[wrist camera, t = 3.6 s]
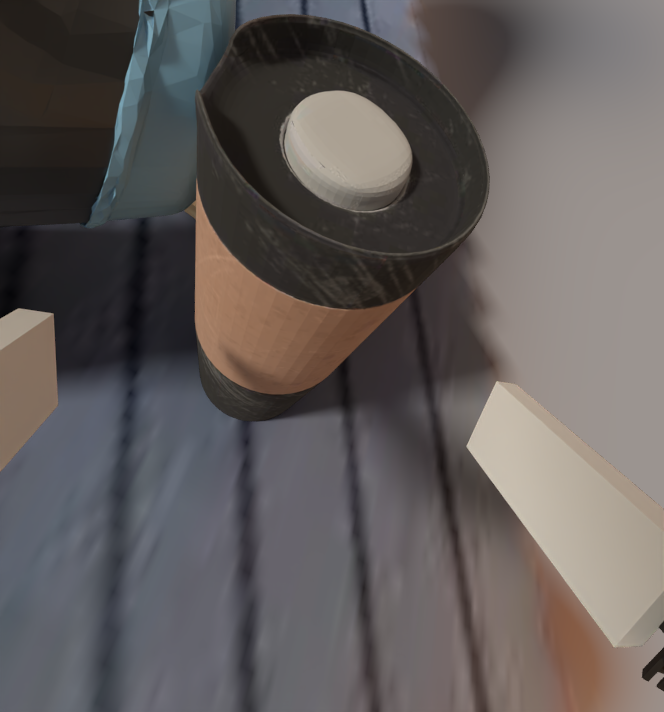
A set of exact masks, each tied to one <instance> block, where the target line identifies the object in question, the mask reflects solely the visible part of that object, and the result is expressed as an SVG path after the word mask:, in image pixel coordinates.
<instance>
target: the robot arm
mask: <svg viewBox="0 0 664 712" xmlns="http://www.w3.org/2000/svg"><path fill="white" fill-rule="evenodd" d="M235 7H236V0H0V227H10V226H30V225H50V224H70V223H80V225H81V226H82V227H84V228H95V227H97V226H100V225H102V224H104V223H106V221H111V220H122V219H133V218H144V217H154V216H165V215H172V214H176V213H179V212H182V211H183V210H185V209H187V208H188V207H189V206H190V205H191V204H192V203H194V202H195V201H196V179H197V175H196V172H197V120H196V105H195V92H196V90H197V89H198V90H199V91H200V90H201V89H202V87H203V86H204V85H205V83H206V81H207V80H208V78H209V76H210V75H211V73H212V72H213V70H214V69H215V67H216V66H217V64H218V63H219V61H220V59H221V58H222V56H223V54H224V52H225V50H226V48H227V46H228V43H229V41H230V39H231V37H232V35H233V33H234V31H235ZM57 406H58V392H57V372H56V352H55V331H54V314H53V313H46V312H40V311H33V310H27V309H20V308H18V309H16V310H15V311H13V312H11V313H9V314H8V315H6V316H4V317H2V318H1V319H0V472H1V471H2V469H3V468H4V467H5V466H6V465H7V464H8V462H9V461H10V460H11V459H12V458H13V457H14V456H15V454H16V453H17V452H18V451H19V450H20V449H21V448H22V446H23V445H24V444H25V443H26V442H27V441H28V439H29V438H30V437H31V436H32V435H33V434H34V433H35V431H36V430H37V429H38V428H39V427H40V426H41V424H42V423H43V422H44V421H45V420H46V419H47V418H48V416H49V415H50V414H51V413H52V412H53V411H54V409H55V408H56V407H57ZM466 447H467V448H468V450H469V451H470V452H471V454H472V455H473V456H474V458H475V459H476V461H477V462H478V463H479V465H480V466H481V467H482V469H483V470H484V471H485V473H486V474H487V475H488V477H489V478H490V480H491V481H492V482H493V484H494V485H495V486H496V488H497V489H498V490H499V492H500V493H501V494H502V496H503V497H504V499H505V500H506V501H507V503H508V504H509V505H510V507H511V508H512V509H513V511H514V512H515V513H516V515H517V516H518V518H519V519H520V520H521V522H522V523H523V524H524V526H525V527H526V528H527V530H528V531H529V532H530V534H531V535H532V537H533V538H534V539H535V541H536V542H537V543H538V545H539V546H540V547H541V549H542V550H543V551H544V553H545V554H546V556H547V557H548V558H549V560H550V561H551V562H552V564H553V565H554V566H555V568H556V569H557V570H558V572H559V573H560V575H561V576H562V577H563V579H564V580H565V581H566V583H567V584H568V585H569V587H570V588H571V589H572V591H573V592H574V594H575V595H576V596H577V598H578V599H579V600H580V602H581V603H582V604H583V605H584V607H585V608H586V610H587V611H588V612H589V614H590V615H591V617H592V618H593V619H594V621H595V622H596V623H597V625H598V626H599V627H600V629H601V630H602V631H603V633H604V634H605V636H606V637H607V638H608V640H609V641H610V642H611V644H612V645H613V646H614V648H618V647H638V646H643V645H644V644H645V643H646V641H647V640H648V639H649V638H650V637H651V636H652V635H653V634H654V633H655V632H656V631H657V629H658V628H660V629H661V630H662V632H663V633H664V509H663V508H662V507H661V506H659V505H658V504H657V503H656V502H655V501H654V500H652V499H651V498H650V497H649V496H648V495H646V494H645V493H644V492H643V491H642V490H640V489H639V488H638V487H637V486H636V485H635V484H633V483H632V482H631V481H630V480H629V479H628V478H626V477H625V476H624V475H623V474H621V473H620V472H619V471H618V470H617V469H616V468H615V467H613V466H612V465H611V464H610V463H608V462H607V461H606V460H605V459H604V458H603V457H602V456H600V455H599V454H598V453H596V451H594V450H593V449H592V448H591V447H590V446H589V445H587V444H586V443H585V442H584V441H583V440H581V439H580V438H579V437H578V436H577V435H575V434H574V433H573V432H572V431H570V430H569V429H568V428H567V427H566V426H565V425H564V424H562V423H561V422H560V421H559V420H558V419H557V418H555V417H554V416H553V415H552V414H551V413H549V412H548V411H547V410H546V409H545V408H543V407H542V406H541V405H540V404H539V403H538V402H536V401H535V400H534V399H533V398H532V397H531V396H529V395H528V394H527V393H526V392H525V391H523V390H522V389H521V388H520V387H519V386H517V385H516V384H512V383H505V382H499V381H496V384H495V386H494V388H493V390H492V392H491V394H490V397H489V399H488V401H487V403H486V405H485V407H484V410H483V412H482V414H481V416H480V418H479V420H478V423H477V425H476V427H475V429H474V431H473V433H472V436H471V438H470V440H469V442H468V444H467V446H466ZM657 672H660V673H663V674H664V648H663V649H662V650H661V651H660V652H659V653H658V654H657V655H656V656H655V657H654V658H653V659H652V660H651V661H650V662H649V663H648V665H646V666H645V668H644V669H643V672H642V678H643V679H645V680H646V681H649V680H650V679H651V678H652V677H653V676H654V675H655V674H656V673H657ZM657 687H658V688H659V689H661V690H663V691H664V678H663V679H662V680H660V682H659V683H658V684H657Z"/></svg>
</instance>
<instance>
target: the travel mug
mask: <svg viewBox="0 0 664 712" xmlns="http://www.w3.org/2000/svg"><path fill="white" fill-rule="evenodd" d="M195 105H196V120H197V172H196V175H197V179H196V261H195V327H196V338H197V349H198V360H199V370H200V378H201V382H202V386H203V388H204V391H205V393H206V395H207V396H208V398H209V399H210V401H211V402H212V403H213V404H214V405H215V406H216V407H217V408H218V409H219V410H221V411H222V412H223V413H225V414H227V415H229V416H231V417H233V418H236V419H239V420H243V421H262V420H267V419H270V418H273V417H275V416H277V415H279V414H281V413H283V412H284V411H286V410H287V409H288V408H290V407H291V406H292V405H293V404H295V403H296V402H297V401H298V400H299V399H301V398H302V397H303V396H304V395H306V394H307V393H308V392H309V391H311V390H312V389H313V388H314V387H315V386H317V385H318V384H319V383H320V382H322V381H323V380H324V379H325V378H326V377H328V376H329V375H330V374H331V373H332V372H333V371H334V370H335V369H336V368H337V367H338V366H339V365H340V364H341V363H342V362H343V361H344V360H345V359H346V358H347V357H348V356H349V355H350V354H351V353H352V352H353V351H354V350H355V349H356V348H357V347H358V346H359V345H360V344H361V343H362V342H363V341H364V340H365V339H366V338H367V337H368V336H369V335H370V334H371V333H372V332H373V331H374V330H375V329H376V328H377V327H378V326H379V325H380V324H381V323H382V322H383V321H384V320H385V319H386V318H387V317H388V316H389V315H390V314H391V313H392V312H393V311H394V310H395V309H396V308H397V307H398V306H399V305H400V304H401V303H402V302H403V301H404V300H405V299H406V298H407V297H408V296H409V295H410V294H411V293H412V292H413V291H414V290H415V289H416V288H417V287H418V286H419V285H420V284H421V283H422V282H423V281H424V280H425V279H426V278H427V277H428V276H429V275H431V274H432V273H433V272H434V271H435V270H436V269H437V268H438V267H439V266H440V265H441V264H442V263H443V262H444V261H445V260H446V259H447V258H448V257H449V256H450V255H451V254H452V253H453V252H454V251H455V250H456V249H457V248H458V247H459V246H460V245H461V243H462V242H463V241H464V240H465V239H466V238H467V237H468V236H469V235H470V233H471V232H472V231H473V229H474V228H475V226H476V225H477V223H478V222H479V220H480V218H481V216H482V214H483V211H484V209H485V206H486V203H487V199H488V193H489V178H490V176H489V168H488V162H487V158H486V154H485V150H484V147H483V145H482V142H481V139H480V137H479V135H478V133H477V131H476V129H475V127H474V125H473V123H472V121H471V119H470V118H469V116H468V115H467V113H466V112H465V110H464V108H463V107H462V106H461V105H460V103H459V102H458V101H457V99H456V98H455V97H454V95H453V94H452V93H451V92H450V91H449V90H448V89H447V88H446V86H445V85H444V84H443V83H442V82H441V81H440V80H439V79H438V78H437V77H436V76H435V75H434V74H432V73H431V72H430V71H429V70H428V69H427V68H425V67H424V66H423V65H422V64H421V63H419V62H418V61H417V60H415V59H414V58H413V57H411V56H410V55H408V54H407V53H406V52H404V51H403V50H401V49H399V48H398V47H396V46H394V45H393V44H391V43H390V42H388V41H386V40H384V39H382V38H380V37H378V36H376V35H374V34H372V33H370V32H367V31H365V30H362V29H360V28H358V27H355V26H352V25H349V24H346V23H343V22H339V21H335V20H331V19H327V18H322V17H316V16H310V15H295V14H287V15H273V16H266V17H261V18H257V19H254V20H251V21H248V22H246V23H244V24H243V25H241V26H240V27H239V28H237V29H236V30H235V32H234V33H233V35H232V37H231V39H230V41H229V43H228V46H227V48H226V50H225V52H224V54H223V56H222V58H221V59H220V61H219V63H218V64H217V66H216V67H215V69H214V70H213V72H212V73H211V75H210V76H209V78H208V80H207V81H206V83H205V85H204V86H203V87H202V89H201V90H200V91H199V90H198V89H197V90H196V92H195Z"/></svg>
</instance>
